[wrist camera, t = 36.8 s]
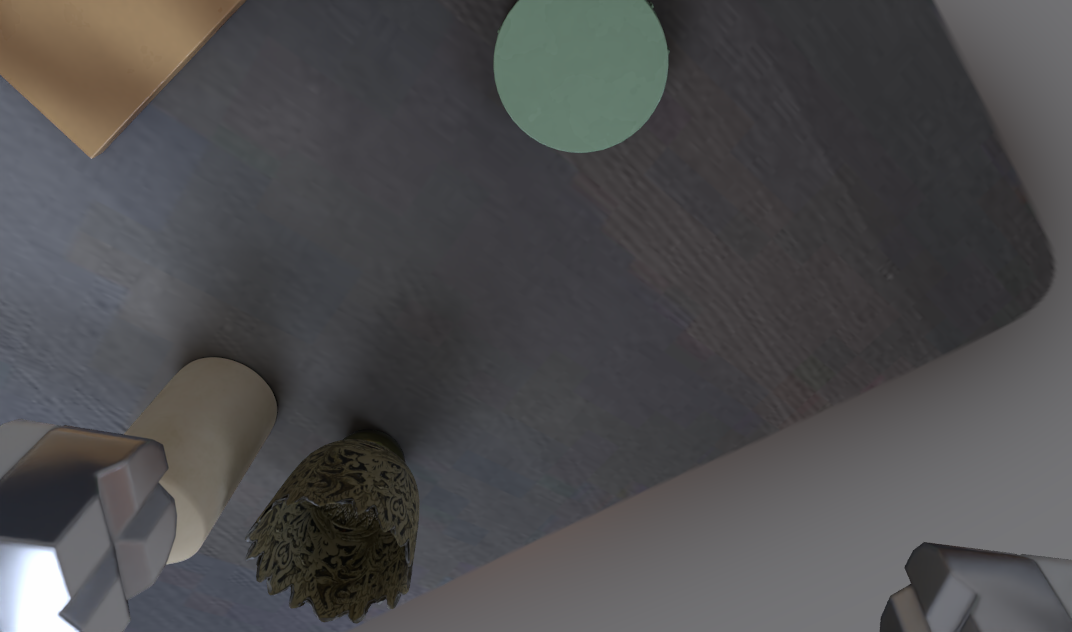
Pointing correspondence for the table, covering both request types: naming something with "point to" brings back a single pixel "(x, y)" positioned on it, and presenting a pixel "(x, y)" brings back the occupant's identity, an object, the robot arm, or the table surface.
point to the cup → (341, 528)
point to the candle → (206, 440)
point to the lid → (581, 70)
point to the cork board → (101, 57)
